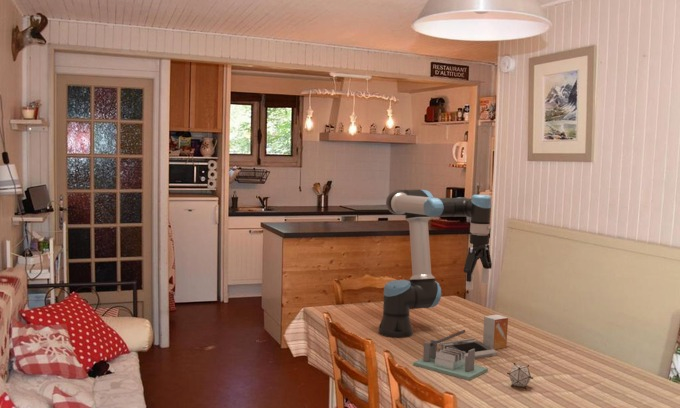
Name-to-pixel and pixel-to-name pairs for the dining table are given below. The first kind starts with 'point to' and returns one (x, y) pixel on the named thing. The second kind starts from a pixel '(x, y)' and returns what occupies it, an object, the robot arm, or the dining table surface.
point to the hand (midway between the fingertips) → (477, 287)
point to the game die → (520, 375)
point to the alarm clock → (470, 347)
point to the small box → (495, 331)
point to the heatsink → (450, 358)
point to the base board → (463, 372)
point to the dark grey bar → (448, 337)
